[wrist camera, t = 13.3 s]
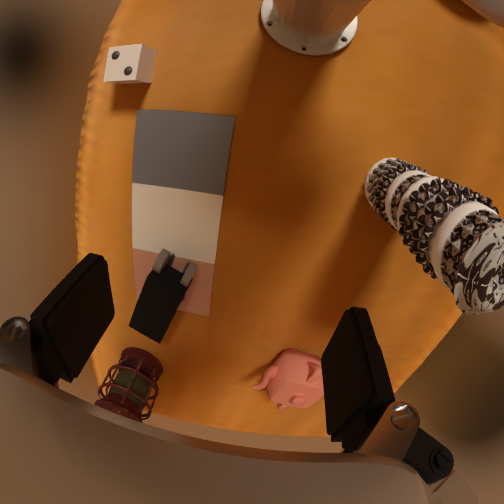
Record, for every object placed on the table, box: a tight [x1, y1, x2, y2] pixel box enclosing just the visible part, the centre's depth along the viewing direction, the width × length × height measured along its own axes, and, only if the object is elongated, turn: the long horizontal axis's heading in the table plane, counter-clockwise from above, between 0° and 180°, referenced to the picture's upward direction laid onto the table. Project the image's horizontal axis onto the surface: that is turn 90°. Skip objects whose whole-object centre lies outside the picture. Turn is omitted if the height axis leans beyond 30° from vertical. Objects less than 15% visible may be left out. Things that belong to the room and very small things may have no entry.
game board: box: [132, 110, 235, 317], centre depth 40 cm, size 33×14×1 cm, turn 171°
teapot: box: [252, 348, 324, 410], centre depth 48 cm, size 14×12×10 cm
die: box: [103, 44, 157, 84], centre depth 28 cm, size 5×5×5 cm
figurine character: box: [129, 248, 198, 343], centre depth 42 cm, size 7×8×15 cm
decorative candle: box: [364, 157, 504, 315], centre depth 24 cm, size 9×9×25 cm
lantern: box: [95, 347, 163, 423], centre depth 44 cm, size 12×12×30 cm
